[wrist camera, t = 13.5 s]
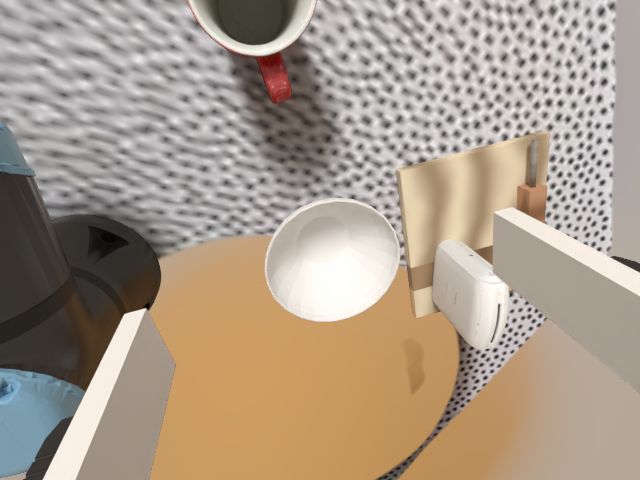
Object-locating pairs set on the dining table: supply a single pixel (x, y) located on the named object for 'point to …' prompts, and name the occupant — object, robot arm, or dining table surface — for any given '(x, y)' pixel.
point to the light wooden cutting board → (460, 204)
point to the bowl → (331, 260)
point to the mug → (257, 33)
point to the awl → (532, 190)
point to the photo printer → (470, 294)
